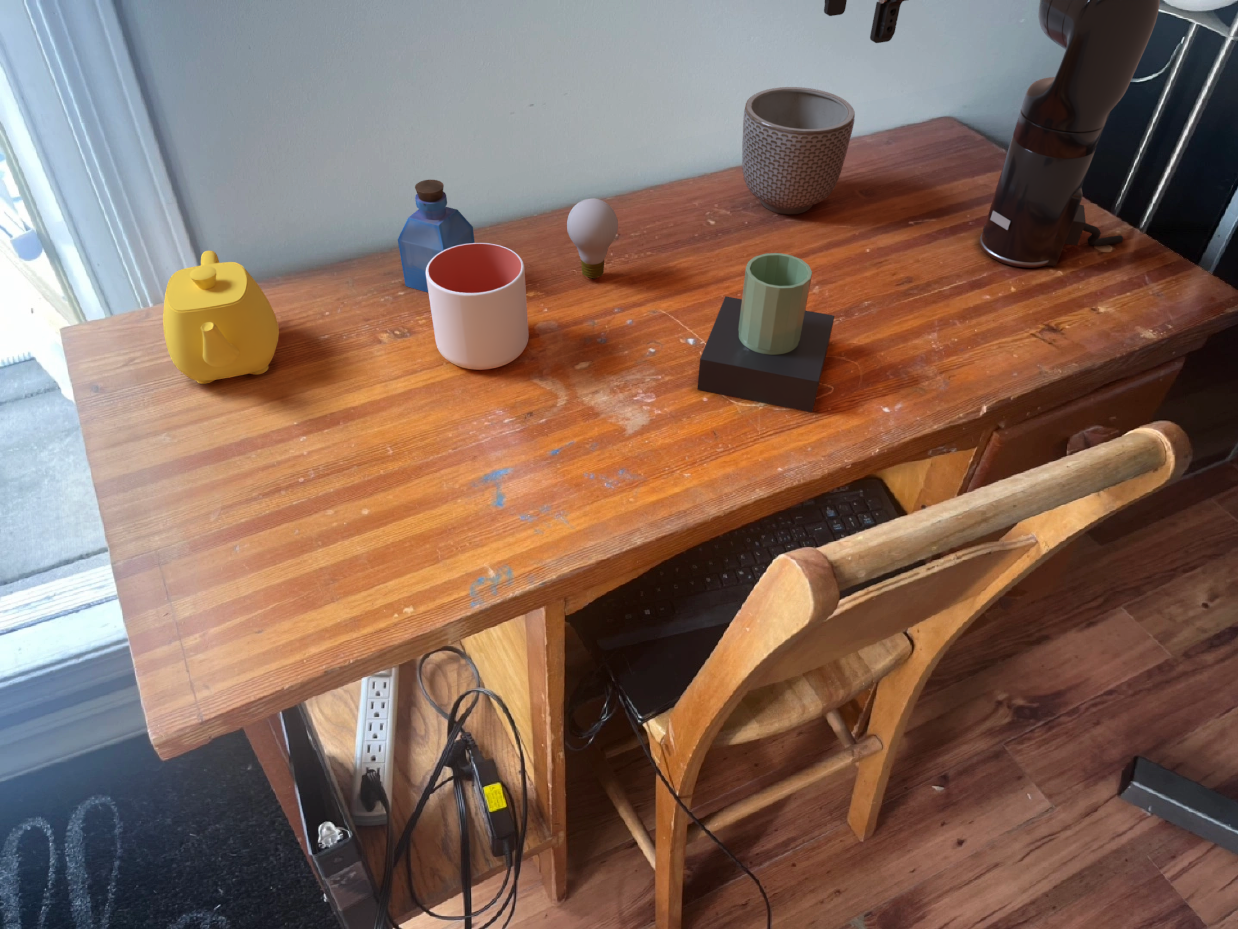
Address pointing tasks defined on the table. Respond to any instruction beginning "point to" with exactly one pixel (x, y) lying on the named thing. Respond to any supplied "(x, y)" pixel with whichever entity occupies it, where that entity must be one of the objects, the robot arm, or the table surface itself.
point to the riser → (764, 362)
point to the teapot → (218, 321)
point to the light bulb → (592, 233)
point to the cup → (478, 305)
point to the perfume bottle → (430, 232)
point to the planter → (794, 146)
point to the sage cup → (774, 303)
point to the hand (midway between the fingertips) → (856, 27)
